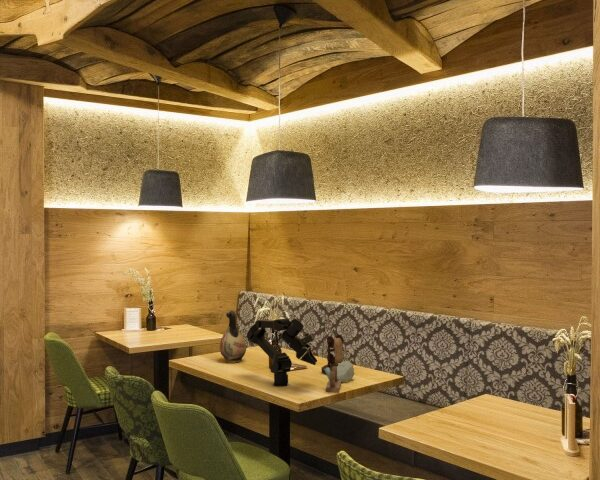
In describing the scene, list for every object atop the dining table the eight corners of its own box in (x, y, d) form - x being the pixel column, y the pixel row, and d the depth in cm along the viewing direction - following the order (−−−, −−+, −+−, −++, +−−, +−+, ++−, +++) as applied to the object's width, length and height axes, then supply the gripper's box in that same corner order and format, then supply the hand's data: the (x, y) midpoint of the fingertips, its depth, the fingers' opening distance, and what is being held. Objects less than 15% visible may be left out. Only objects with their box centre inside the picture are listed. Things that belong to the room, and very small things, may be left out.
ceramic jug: (217, 359, 361) (217, 308, 360) (243, 357, 365) (243, 307, 365) (222, 365, 344) (222, 312, 344) (249, 363, 349) (249, 311, 349)
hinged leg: (330, 383, 291) (323, 369, 291) (330, 382, 293) (324, 368, 293) (334, 381, 290) (328, 367, 291) (335, 380, 293) (328, 366, 293)
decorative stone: (348, 376, 317) (337, 361, 316) (361, 372, 309) (350, 357, 308) (335, 393, 308) (323, 377, 307) (348, 389, 300) (336, 373, 299)
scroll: (335, 377, 316) (335, 338, 315) (315, 372, 327) (315, 335, 326) (354, 373, 325) (354, 335, 325) (335, 368, 336) (335, 332, 336)
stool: (325, 392, 285) (325, 372, 285) (328, 385, 299) (328, 365, 299) (338, 393, 284) (338, 372, 284) (341, 385, 298) (341, 366, 298)
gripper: (301, 330, 286) (326, 353, 284) (305, 326, 304) (328, 348, 302) (285, 347, 286) (310, 370, 284) (290, 343, 304) (313, 365, 303)
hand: (316, 363), depth 293 cm, fingers open, 9 cm apart
